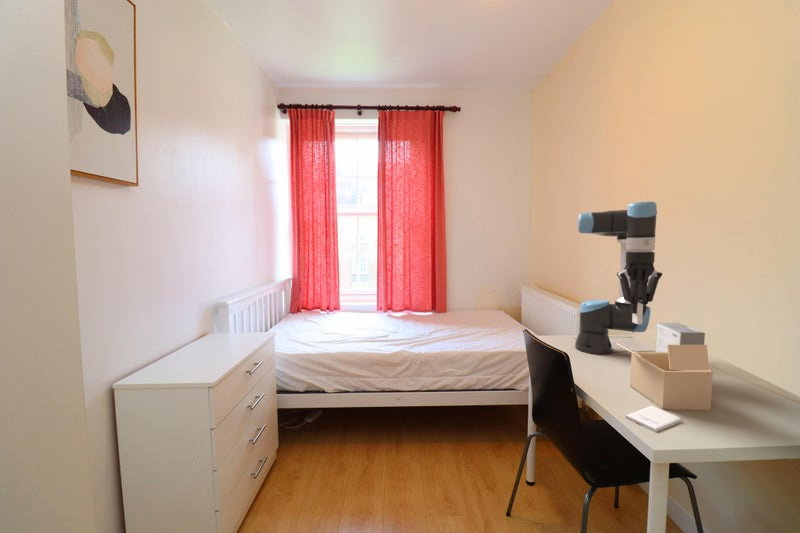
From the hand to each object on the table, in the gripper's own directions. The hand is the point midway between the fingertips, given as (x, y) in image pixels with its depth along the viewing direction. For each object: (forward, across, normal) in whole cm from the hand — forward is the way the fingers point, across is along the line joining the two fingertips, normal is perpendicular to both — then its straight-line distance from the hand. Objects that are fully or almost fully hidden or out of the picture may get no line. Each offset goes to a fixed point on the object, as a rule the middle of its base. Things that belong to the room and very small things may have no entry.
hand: (637, 323), depth 109 cm
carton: (+25, +10, 0) cm, 27 cm away
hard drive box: (+26, +23, +14) cm, 37 cm away
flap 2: (+9, +10, -8) cm, 15 cm away
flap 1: (+10, 0, 0) cm, 10 cm away
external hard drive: (+26, -3, -14) cm, 30 cm away
